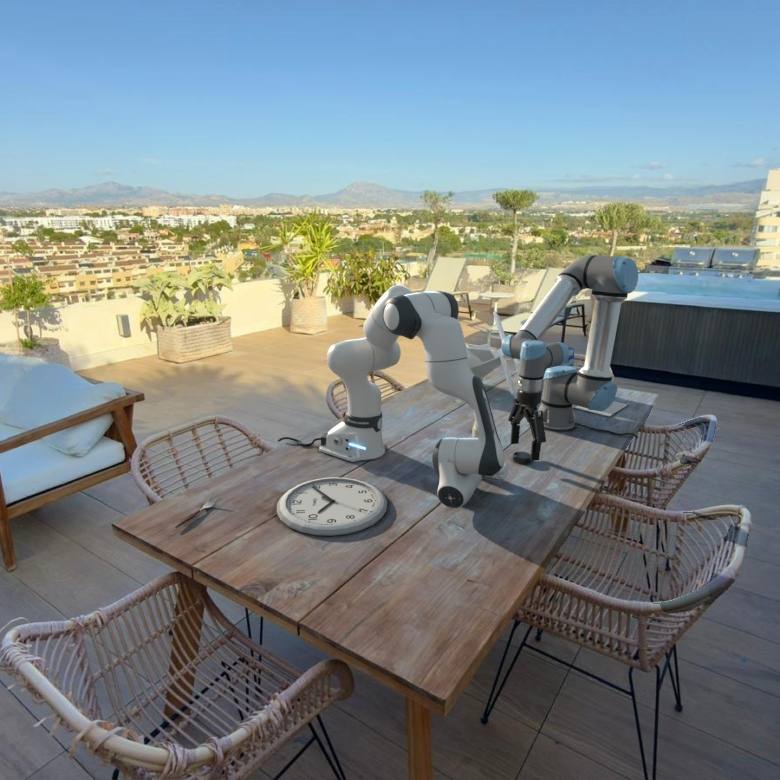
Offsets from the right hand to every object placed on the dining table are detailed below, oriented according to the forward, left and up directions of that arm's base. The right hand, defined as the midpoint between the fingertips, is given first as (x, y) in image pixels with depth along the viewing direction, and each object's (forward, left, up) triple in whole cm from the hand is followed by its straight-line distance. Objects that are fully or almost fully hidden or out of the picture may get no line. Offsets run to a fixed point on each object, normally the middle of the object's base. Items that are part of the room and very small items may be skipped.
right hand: (524, 451), depth 172 cm
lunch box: (-22, -82, -3) cm, 85 cm away
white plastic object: (+11, -73, -3) cm, 74 cm away
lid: (+1, 0, -1) cm, 2 cm away
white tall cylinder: (+16, +13, -3) cm, 21 cm away
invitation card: (-40, -61, -3) cm, 73 cm away
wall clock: (+56, +38, -3) cm, 68 cm away
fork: (+90, +48, -3) cm, 102 cm away
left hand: (+15, +12, +3) cm, 20 cm away
